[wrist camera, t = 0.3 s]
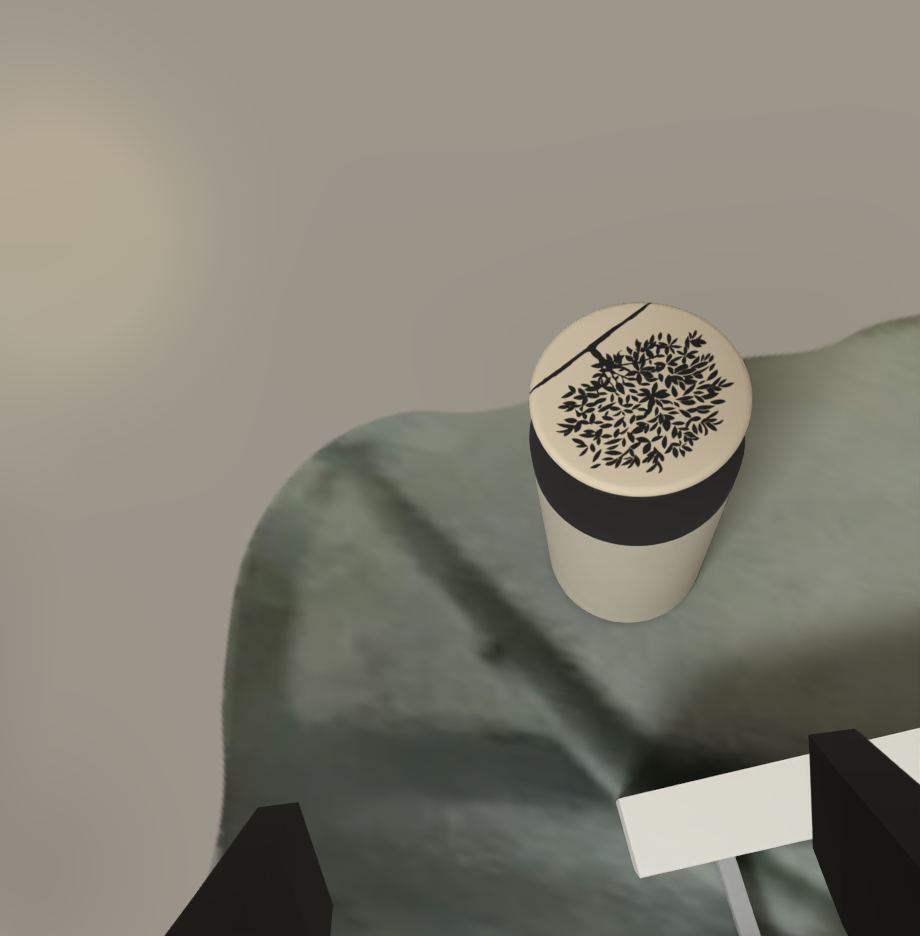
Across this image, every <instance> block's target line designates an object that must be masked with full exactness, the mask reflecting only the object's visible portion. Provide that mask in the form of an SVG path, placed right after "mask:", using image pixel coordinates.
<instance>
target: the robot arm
mask: <svg viewBox="0 0 920 936" xmlns="http://www.w3.org/2000/svg"><path fill="white" fill-rule="evenodd" d="M809 760H810V787H811V813H812V840H813V849H814V852H815V855H816V857H817V860H818V863H819V865H820V868H821V871H822V873H823V876H824V878H825V881H826V884H827V886H828V889H829V892H830V894H831V897H832V899H833V902H834V904H835V907H836V909H837V912H838V914H839V917H840V919H841V922H842V924H843V926H844V928H845V930H846V932H847V934H848V936H920V784H919V783H918V782H917V781H915V780H914V779H913V778H912V777H911V776H910V775H908V774H907V773H906V772H905V771H904V770H903V769H901V768H900V767H899V766H898V765H897V764H896V763H895V762H893V761H892V760H891V759H890V758H889V757H888V756H887V755H885V754H884V753H883V752H882V751H881V750H880V749H878V748H877V747H876V746H875V745H874V744H873V743H872V742H870V741H869V740H868V739H867V738H866V737H865V736H864V735H862V734H861V733H860V732H858V731H857V730H855V729H850V730H842V731H835V732H827V733H820V734H812V735H809ZM332 909H333V904H332V901H331V898H330V895H329V892H328V889H327V886H326V883H325V880H324V877H323V874H322V871H321V868H320V865H319V862H318V859H317V856H316V853H315V850H314V847H313V844H312V841H311V839H310V836H309V833H308V830H307V827H306V824H305V821H304V818H303V815H302V812H301V809H300V806H299V803H298V802H296V803H289V804H281V805H274V806H266V807H259V808H257V809H256V811H255V812H254V813H253V815H252V816H251V817H250V819H249V820H248V821H247V823H246V824H245V826H244V827H243V828H242V830H241V831H240V832H239V834H238V835H237V837H236V838H235V839H234V841H233V842H232V844H231V845H230V846H229V848H228V849H227V851H226V852H225V853H224V855H223V856H222V858H221V859H220V861H219V862H218V863H217V865H216V866H215V868H214V869H213V870H212V872H211V873H210V875H209V876H208V877H207V879H206V880H205V882H204V883H203V884H202V886H201V887H200V889H199V890H198V891H197V893H196V894H195V895H194V897H193V898H192V899H191V901H190V902H189V904H188V905H187V906H186V908H185V909H184V910H183V912H182V913H181V914H180V916H179V917H178V918H177V920H176V921H175V922H174V924H173V925H172V926H171V928H170V929H169V930H168V932H167V933H166V935H165V936H330V933H331V921H332Z"/></svg>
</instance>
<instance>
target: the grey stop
mask: <svg viewBox="0 0 920 936" xmlns="http://www.w3.org/2000/svg"><path fill="white" fill-rule="evenodd" d="M869 741H870V742H872V743H873V744H874V745H875V746H876V747H877V748H878V749H880V750H881V751H882V752H883V753H884V754H885V755H887V756H888V757H889V758H890V759H891V760H892V761H893V762H895V763H896V764H897V765H898V766H899V767H900V768H901V769H903V770H904V771H905V772H906V773H907V774H908V775H910V776H911V777H912V778H913V779H914V780H915V781H917V782H918V783H919V784H920V728H917V729H913V730H909V731H904V732H900V733H896V734H892V735H887V736H883V737H879V738H875V739H870V740H869ZM616 804H617V808H618V811H619V815H620V819H621V822H622V826H623V830H624V833H625V837H626V841H627V844H628V848H629V852H630V855H631V859H632V863H633V866H634V870H635V871H636V873H637V874H638V876H639V877H640V878H643V877H647V876H651V875H656V874H660V873H664V872H669V871H673V870H677V869H682V868H686V867H691V866H695V865H699V864H704V863H708V862H712V861H715V862H716V865H717V868H718V871H719V875H720V878H721V881H722V884H723V887H724V891H725V894H726V897H727V900H728V903H729V907H730V910H731V913H732V916H733V919H734V923H735V926H736V929H737V932H738V935H739V936H761V935H760V932H759V929H758V926H757V923H756V920H755V917H754V914H753V910H752V907H751V904H750V901H749V898H748V895H747V892H746V889H745V886H744V883H743V879H742V876H741V873H740V870H739V867H738V864H737V861H736V858H735V856H738V855H743V854H747V853H752V852H756V851H760V850H765V849H769V848H773V847H778V846H782V845H786V844H791V843H795V842H799V841H804V840H808V839H812V813H811V787H810V760H809V754H807V755H802V756H798V757H794V758H790V759H785V760H781V761H777V762H773V763H768V764H764V765H760V766H756V767H751V768H747V769H743V770H739V771H734V772H730V773H726V774H722V775H717V776H713V777H709V778H705V779H700V780H696V781H692V782H688V783H683V784H679V785H675V786H671V787H666V788H662V789H658V790H654V791H649V792H645V793H641V794H637V795H632V796H628V797H624V798H620V799H618V800H617V801H616Z"/></svg>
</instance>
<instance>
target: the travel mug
mask: <svg viewBox="0 0 920 936" xmlns="http://www.w3.org/2000/svg"><path fill="white" fill-rule="evenodd" d="M529 404H530V413H531V424H530V435H529V442H530V451H531V456H532V462H533V467H534V472H535V478H536V483H537V488H538V494H539V499H540V504H541V510H542V515H543V520H544V526H545V531H546V536H547V542H548V547H549V552H550V558H551V563H552V567H553V570H554V573H555V576H556V578H557V580H558V582H559V584H560V586H561V587H562V589H563V590H564V592H565V593H566V594H567V595H568V596H569V598H570V599H571V600H572V601H574V602H575V603H576V604H577V605H578V606H579V607H581V608H582V609H584V610H585V611H587V612H589V613H591V614H593V615H595V616H597V617H600V618H602V619H606V620H610V621H614V622H623V623H632V622H641V621H646V620H650V619H653V618H656V617H658V616H661V615H663V614H665V613H667V612H668V611H670V610H671V609H673V608H674V607H675V606H676V605H678V604H679V603H680V602H681V601H682V600H683V599H684V598H685V597H686V595H687V594H688V593H689V591H690V590H691V588H692V587H693V585H694V583H695V581H696V578H697V576H698V573H699V571H700V568H701V565H702V563H703V560H704V558H705V555H706V553H707V550H708V548H709V545H710V543H711V540H712V538H713V535H714V533H715V530H716V527H717V525H718V522H719V520H720V517H721V515H722V512H723V510H724V507H725V505H726V502H727V500H728V497H729V494H730V492H731V489H732V487H733V484H734V482H735V479H736V477H737V474H738V472H739V469H740V466H741V463H742V459H743V455H744V448H745V433H746V431H747V428H748V425H749V421H750V417H751V411H752V388H751V382H750V378H749V374H748V371H747V369H746V366H745V364H744V362H743V360H742V358H741V356H740V354H739V353H738V351H737V350H736V348H735V347H734V345H733V344H732V343H731V342H730V341H729V340H728V338H727V337H726V336H725V335H724V334H723V333H721V332H720V331H719V330H718V329H717V328H715V327H714V326H713V325H712V324H710V323H709V322H707V321H706V320H704V319H702V318H700V317H698V316H697V315H695V314H693V313H690V312H688V311H686V310H682V309H680V308H676V307H673V306H669V305H664V304H658V303H645V302H642V303H641V302H635V303H624V304H618V305H613V306H609V307H605V308H602V309H599V310H597V311H594V312H591V313H589V314H587V315H585V316H583V317H581V318H579V319H578V320H576V321H574V322H573V323H571V324H570V325H568V326H567V327H566V328H565V329H564V330H563V331H561V332H560V333H559V334H558V335H557V336H556V337H555V338H554V339H553V340H552V341H551V343H550V344H549V345H548V346H547V348H546V349H545V351H544V352H543V354H542V355H541V357H540V359H539V361H538V363H537V366H536V368H535V370H534V373H533V377H532V381H531V386H530V396H529Z"/></svg>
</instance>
